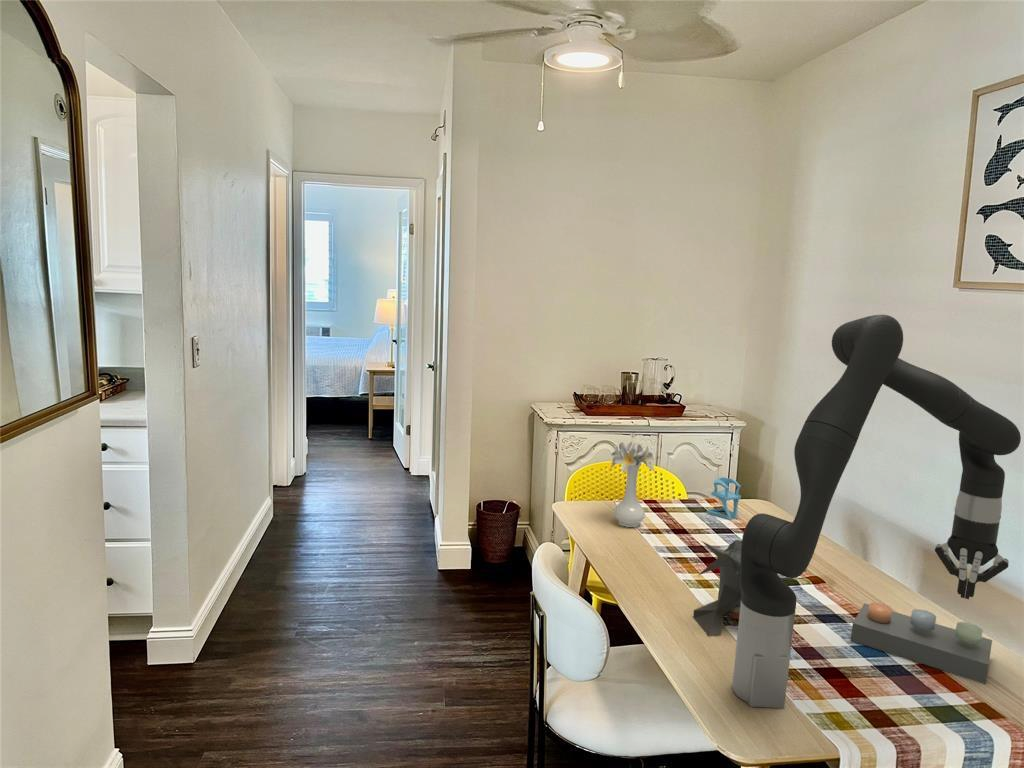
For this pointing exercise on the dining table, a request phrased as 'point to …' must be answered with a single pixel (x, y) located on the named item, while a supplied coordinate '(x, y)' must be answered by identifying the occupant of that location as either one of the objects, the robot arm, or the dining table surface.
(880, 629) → the console
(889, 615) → the terracotta button
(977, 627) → the sage button
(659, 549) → the dining table surface
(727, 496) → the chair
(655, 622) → the dining table surface
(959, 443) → the robot arm
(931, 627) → the slate button
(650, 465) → the flower vase
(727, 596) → the grey finned figurine
